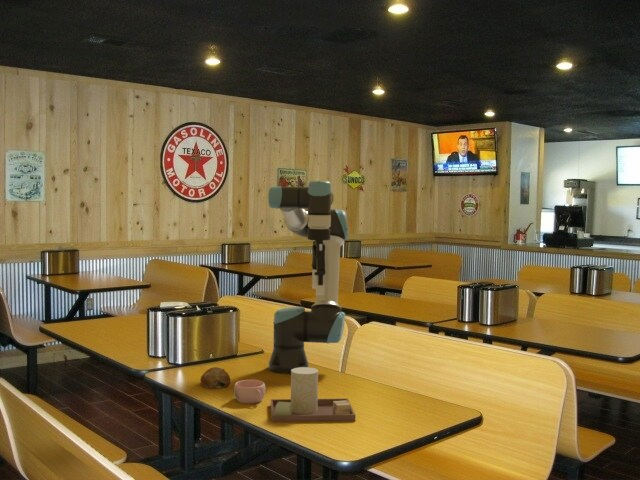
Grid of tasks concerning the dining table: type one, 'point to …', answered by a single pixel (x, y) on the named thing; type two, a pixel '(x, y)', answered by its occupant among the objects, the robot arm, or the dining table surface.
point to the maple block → (341, 407)
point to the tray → (321, 415)
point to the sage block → (284, 408)
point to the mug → (249, 391)
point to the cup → (304, 390)
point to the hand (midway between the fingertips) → (317, 291)
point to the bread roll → (215, 378)
